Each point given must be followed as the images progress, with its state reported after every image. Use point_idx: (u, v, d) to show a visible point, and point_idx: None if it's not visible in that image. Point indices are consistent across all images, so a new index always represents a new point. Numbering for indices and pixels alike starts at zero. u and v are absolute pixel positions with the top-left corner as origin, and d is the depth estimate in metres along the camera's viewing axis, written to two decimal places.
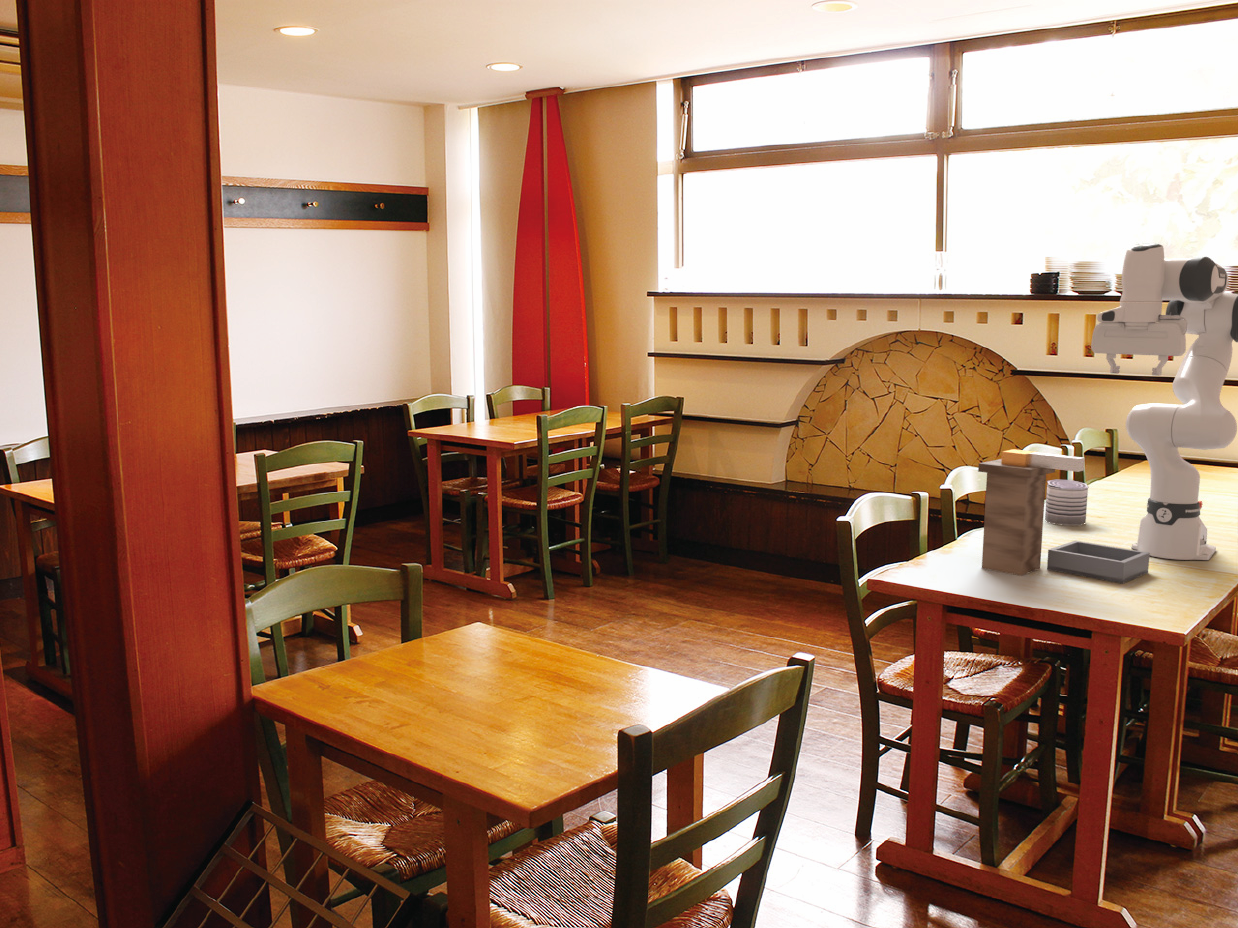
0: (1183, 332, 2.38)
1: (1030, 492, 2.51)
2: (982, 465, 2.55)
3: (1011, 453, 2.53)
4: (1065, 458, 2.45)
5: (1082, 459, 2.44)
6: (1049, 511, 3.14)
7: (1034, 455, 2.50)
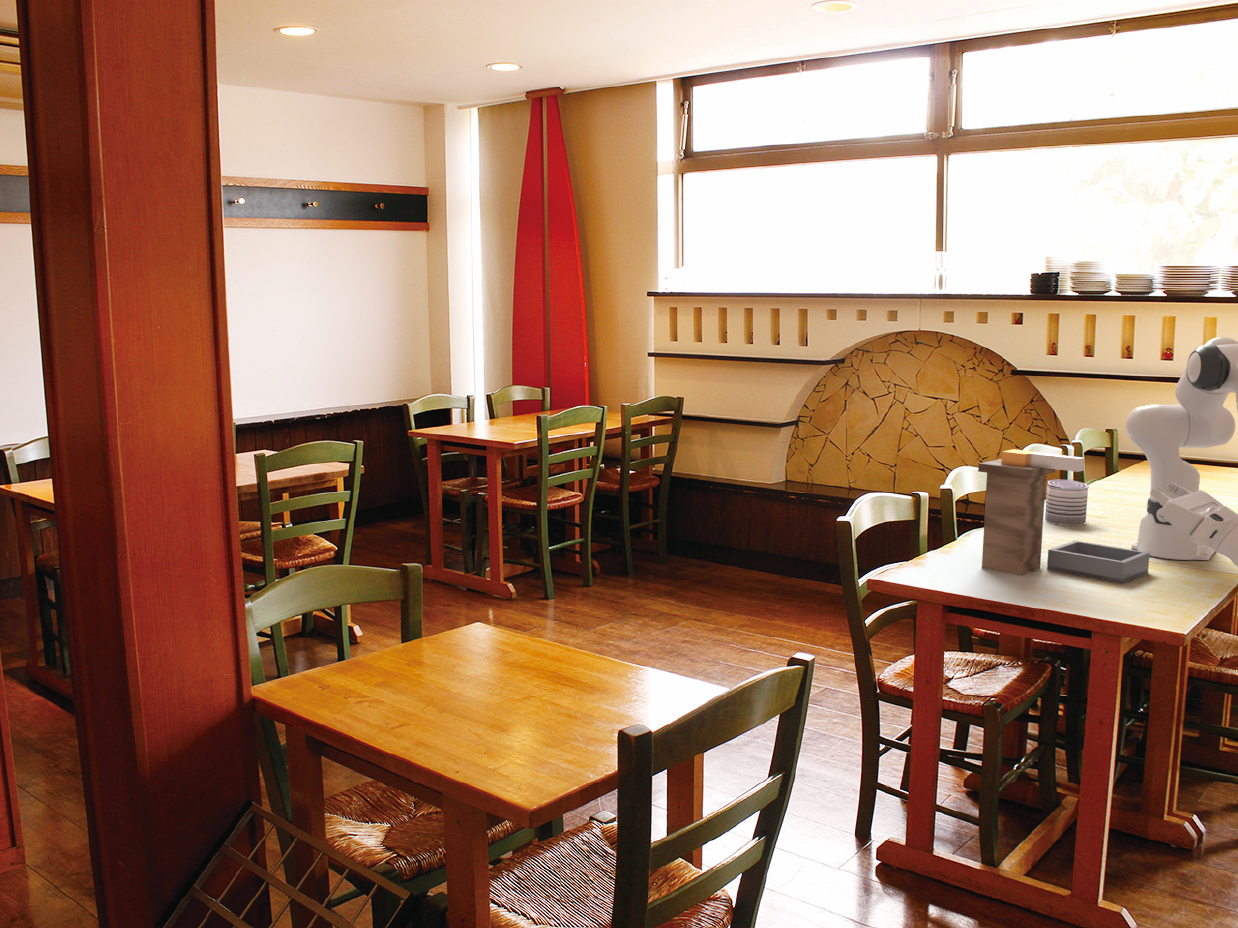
0: None
1: (1030, 492, 2.51)
2: (982, 465, 2.55)
3: (1011, 453, 2.53)
4: (1065, 458, 2.45)
5: (1082, 459, 2.44)
6: (1049, 511, 3.14)
7: (1034, 455, 2.50)
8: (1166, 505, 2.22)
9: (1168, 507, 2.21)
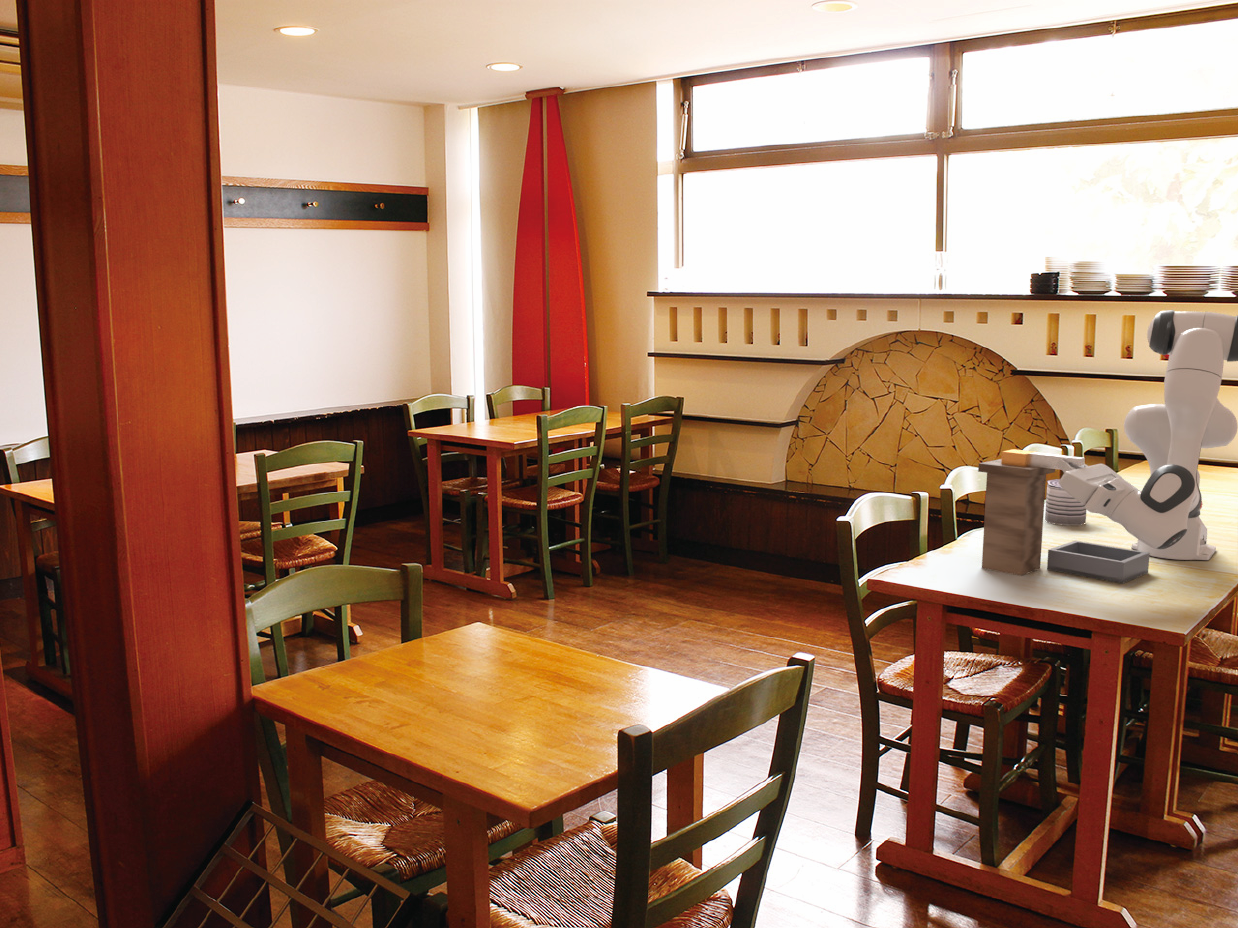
0: None
1: (1030, 492, 2.51)
2: (982, 465, 2.55)
3: (1011, 453, 2.53)
4: (1065, 458, 2.45)
5: (1082, 459, 2.44)
6: (1049, 511, 3.14)
7: (1034, 455, 2.50)
8: (1064, 476, 2.37)
9: (1066, 477, 2.36)
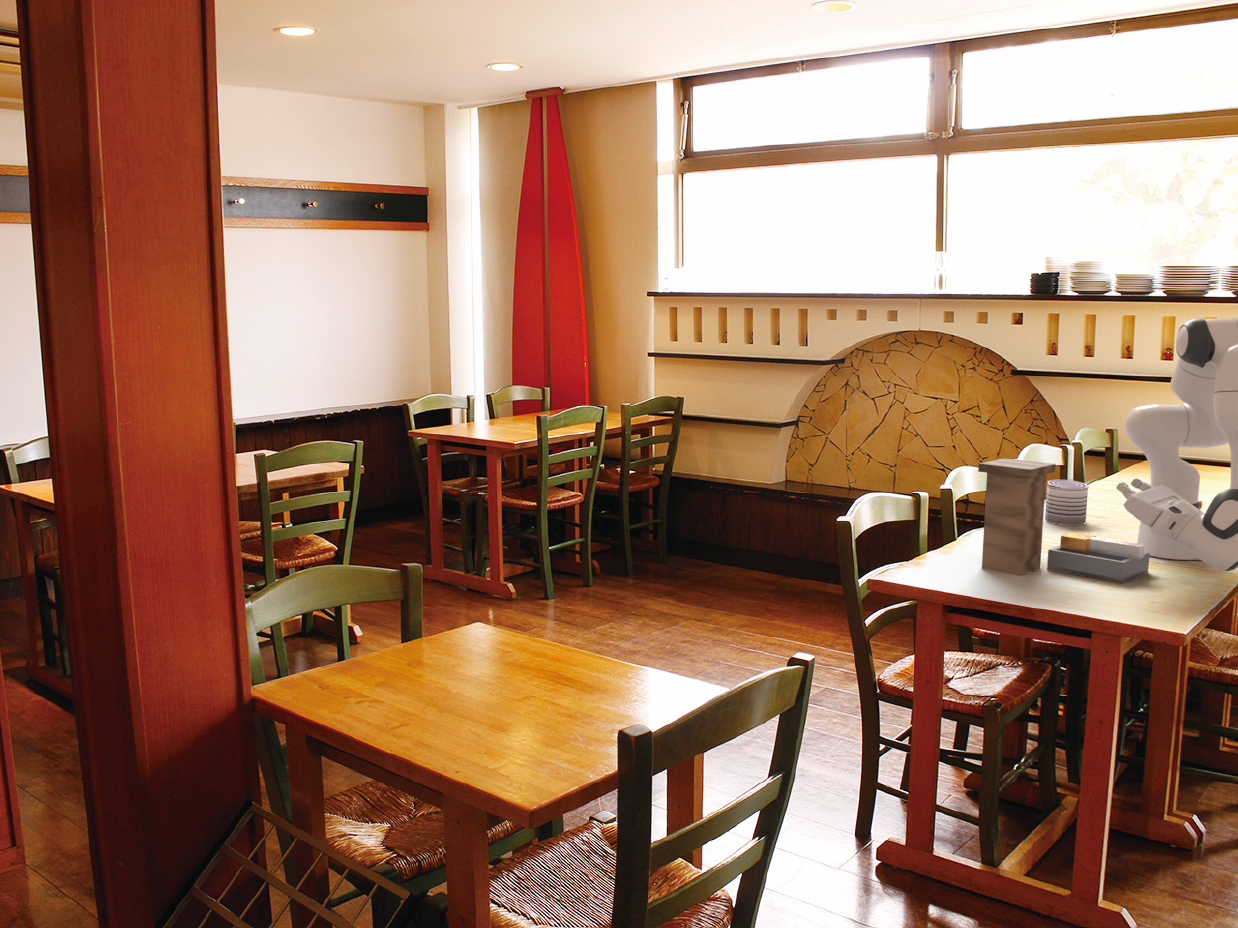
0: None
1: (1030, 492, 2.51)
2: (982, 465, 2.55)
3: (1070, 538, 2.57)
4: (1126, 545, 2.49)
5: (1142, 546, 2.48)
6: (1049, 511, 3.14)
7: (1094, 540, 2.55)
8: (1129, 498, 2.40)
9: (1131, 500, 2.39)
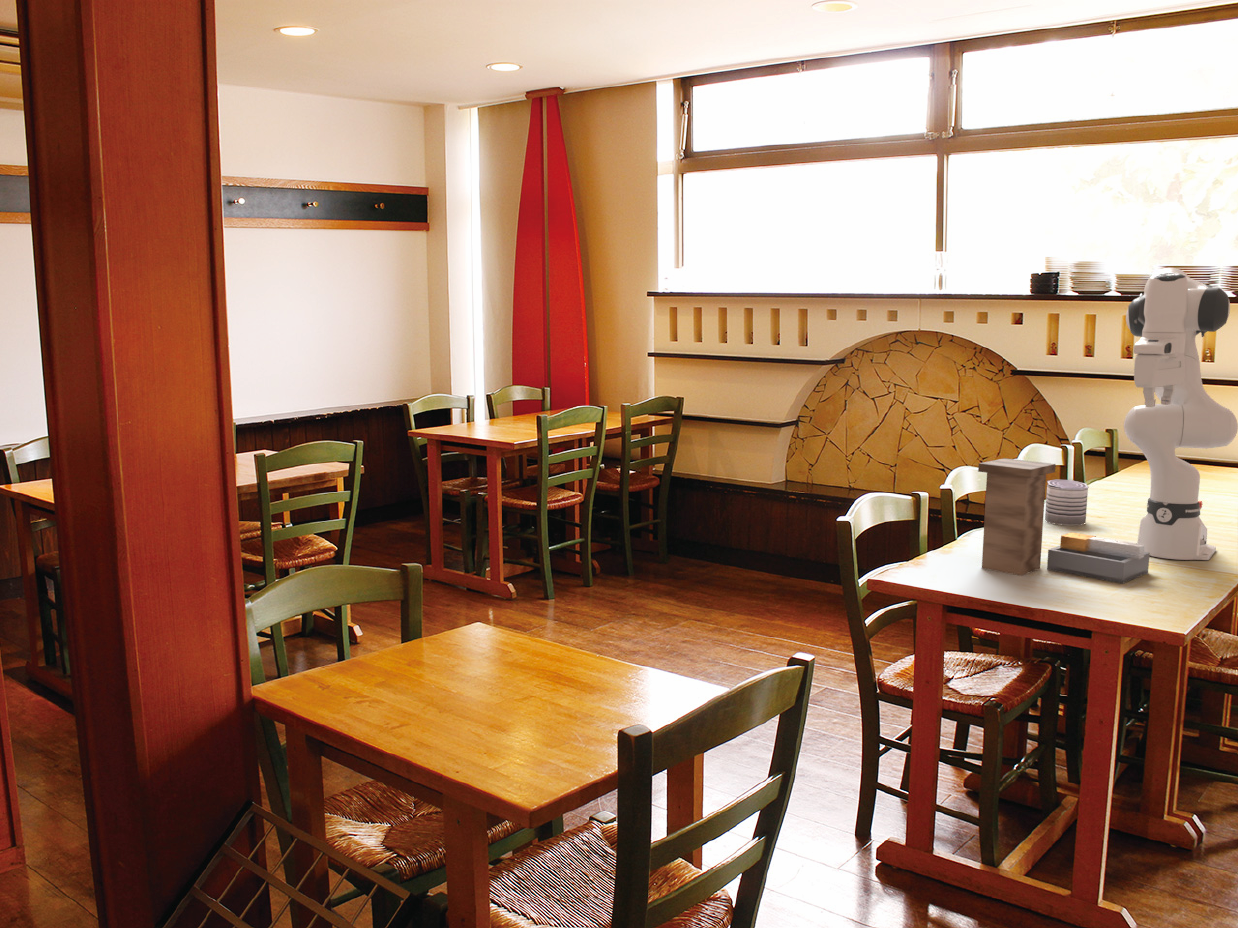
0: None
1: (1030, 492, 2.51)
2: (982, 465, 2.55)
3: (1070, 538, 2.57)
4: (1126, 545, 2.49)
5: (1142, 546, 2.48)
6: (1049, 511, 3.14)
7: (1094, 540, 2.55)
8: (1139, 385, 2.36)
9: (1139, 382, 2.35)
